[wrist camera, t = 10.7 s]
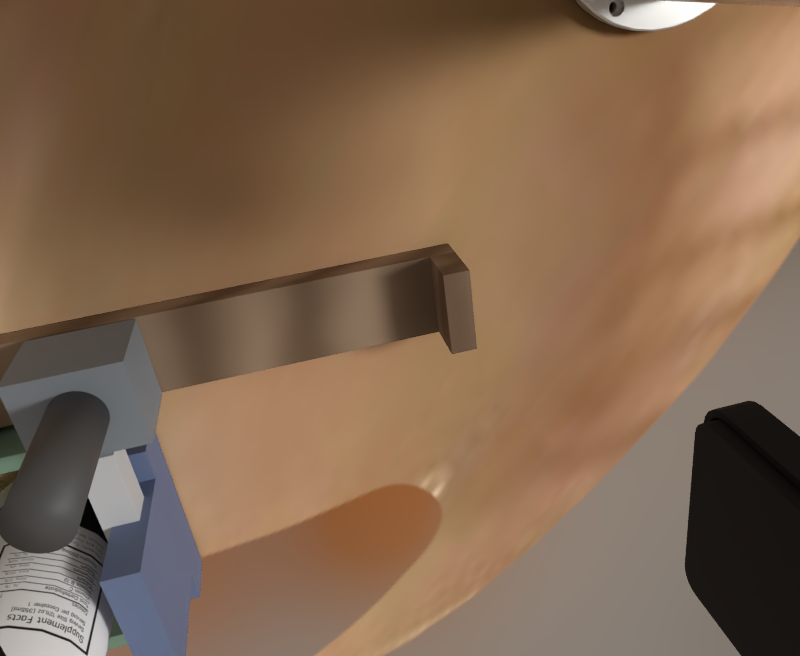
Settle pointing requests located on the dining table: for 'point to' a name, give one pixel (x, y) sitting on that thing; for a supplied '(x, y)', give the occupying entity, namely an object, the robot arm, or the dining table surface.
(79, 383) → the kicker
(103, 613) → the supplement can
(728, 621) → the robot arm
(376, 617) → the dining table surface
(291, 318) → the rail
